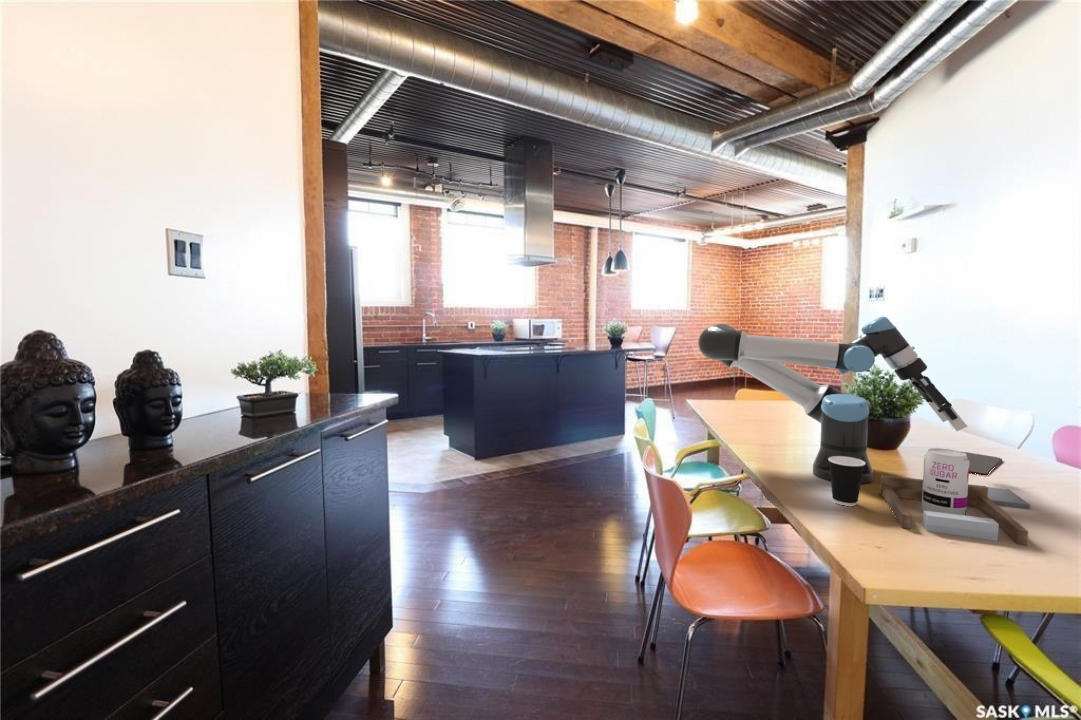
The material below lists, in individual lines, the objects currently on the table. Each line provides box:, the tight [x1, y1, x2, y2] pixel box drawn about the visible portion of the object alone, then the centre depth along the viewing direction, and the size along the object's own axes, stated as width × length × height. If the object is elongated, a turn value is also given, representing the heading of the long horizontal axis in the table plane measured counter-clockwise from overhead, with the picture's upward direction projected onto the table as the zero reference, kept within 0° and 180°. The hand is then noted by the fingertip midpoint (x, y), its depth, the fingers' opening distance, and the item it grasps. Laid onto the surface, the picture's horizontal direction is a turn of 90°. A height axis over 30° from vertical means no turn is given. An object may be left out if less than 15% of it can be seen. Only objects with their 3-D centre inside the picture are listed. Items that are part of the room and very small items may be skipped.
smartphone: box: [962, 451, 1003, 476], centre depth 157 cm, size 12×2×25 cm
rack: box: [879, 474, 1029, 546], centre depth 116 cm, size 22×24×5 cm
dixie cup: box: [828, 456, 866, 507], centre depth 124 cm, size 8×8×11 cm
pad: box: [986, 486, 1031, 509], centre depth 128 cm, size 12×12×1 cm
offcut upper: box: [922, 510, 1000, 535], centre depth 107 cm, size 12×3×2 cm, turn 66°
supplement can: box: [921, 447, 970, 516], centre depth 116 cm, size 8×8×15 cm
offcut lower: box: [922, 519, 999, 542], centre depth 107 cm, size 12×3×2 cm, turn 64°
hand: (954, 424), depth 144 cm, fingers open, 13 cm apart
